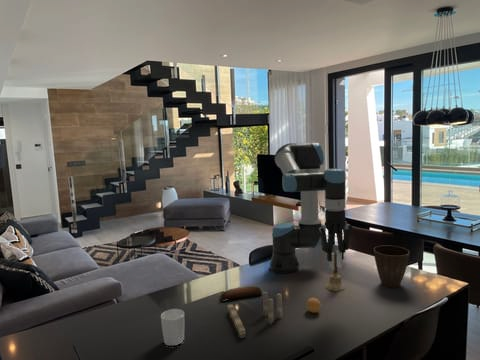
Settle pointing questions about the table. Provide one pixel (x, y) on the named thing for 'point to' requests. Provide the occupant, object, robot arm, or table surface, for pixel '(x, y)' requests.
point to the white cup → (173, 326)
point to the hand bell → (335, 279)
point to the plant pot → (391, 264)
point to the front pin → (279, 306)
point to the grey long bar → (236, 320)
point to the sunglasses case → (241, 292)
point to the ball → (313, 305)
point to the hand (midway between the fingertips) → (335, 268)
